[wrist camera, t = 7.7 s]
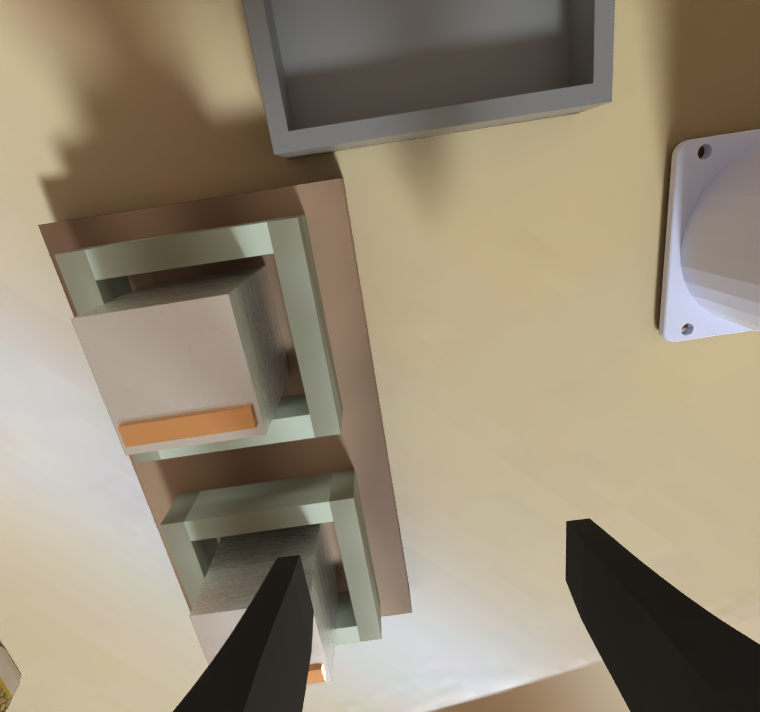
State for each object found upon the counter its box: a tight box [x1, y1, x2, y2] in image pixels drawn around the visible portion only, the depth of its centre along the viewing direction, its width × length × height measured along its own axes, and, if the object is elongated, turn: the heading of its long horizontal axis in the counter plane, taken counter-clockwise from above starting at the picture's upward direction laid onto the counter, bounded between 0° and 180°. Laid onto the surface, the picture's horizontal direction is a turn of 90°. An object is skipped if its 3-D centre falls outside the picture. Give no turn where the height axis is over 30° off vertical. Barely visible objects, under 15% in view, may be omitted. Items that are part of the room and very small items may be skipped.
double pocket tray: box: [38, 178, 412, 645], centre depth 20 cm, size 11×21×4 cm, turn 8°
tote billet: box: [71, 265, 291, 455], centre depth 15 cm, size 4×4×5 cm
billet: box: [189, 522, 339, 687], centre depth 19 cm, size 4×4×5 cm
